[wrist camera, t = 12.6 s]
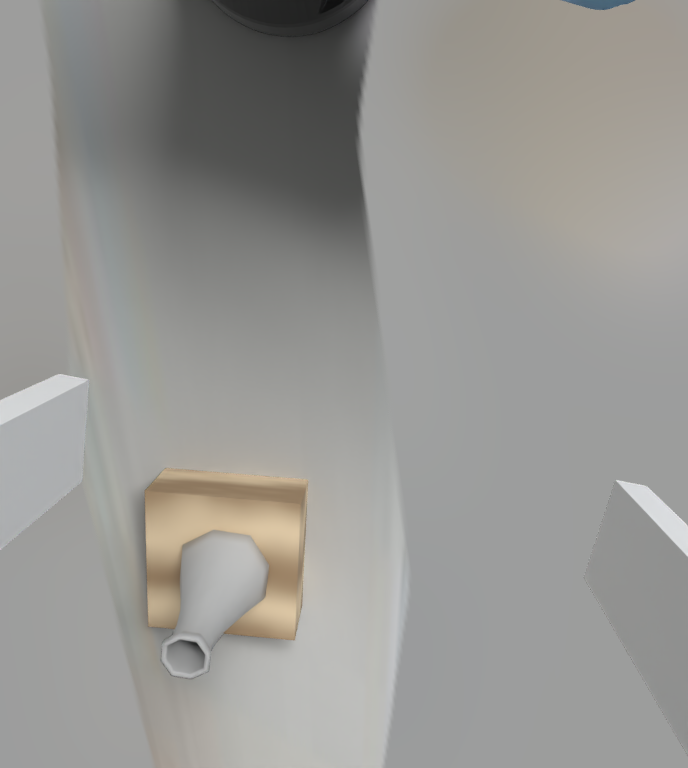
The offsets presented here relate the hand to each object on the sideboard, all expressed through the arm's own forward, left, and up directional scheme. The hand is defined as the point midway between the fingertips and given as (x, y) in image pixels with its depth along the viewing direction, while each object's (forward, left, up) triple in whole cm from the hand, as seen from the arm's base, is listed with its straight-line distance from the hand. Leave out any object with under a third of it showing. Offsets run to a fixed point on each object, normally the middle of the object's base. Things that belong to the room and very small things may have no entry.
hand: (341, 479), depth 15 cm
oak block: (+21, -8, -32) cm, 39 cm away
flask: (+21, -7, -27) cm, 36 cm away
